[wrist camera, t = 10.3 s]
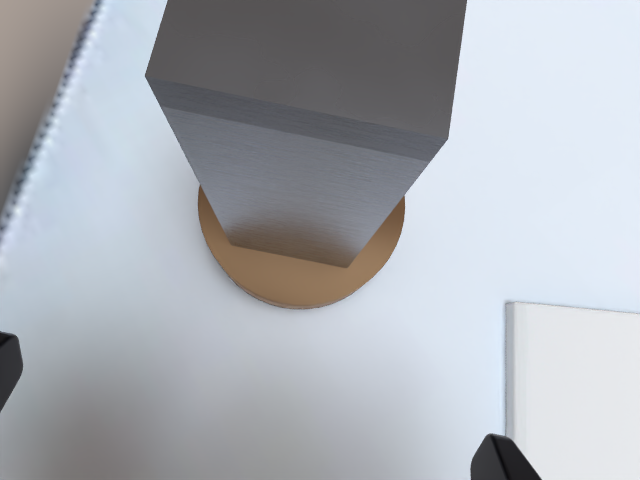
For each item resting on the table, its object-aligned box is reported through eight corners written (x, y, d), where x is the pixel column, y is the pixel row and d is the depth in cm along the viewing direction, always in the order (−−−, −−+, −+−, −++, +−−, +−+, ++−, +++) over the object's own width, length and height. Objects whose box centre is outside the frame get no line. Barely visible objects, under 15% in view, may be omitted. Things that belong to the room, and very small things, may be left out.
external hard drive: (656, 319, 25) (676, 595, 22) (500, 304, 24) (500, 584, 22) (681, 317, 23) (706, 614, 20) (515, 301, 23) (517, 602, 20)
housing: (347, 268, 21) (447, 139, 8) (231, 245, 20) (144, 75, 8) (366, 160, 22) (481, -105, 9) (256, 137, 22) (217, -163, 9)
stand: (374, 326, 23) (387, 322, 20) (188, 288, 23) (174, 279, 20) (403, 153, 25) (418, 127, 22) (232, 117, 25) (225, 86, 22)
